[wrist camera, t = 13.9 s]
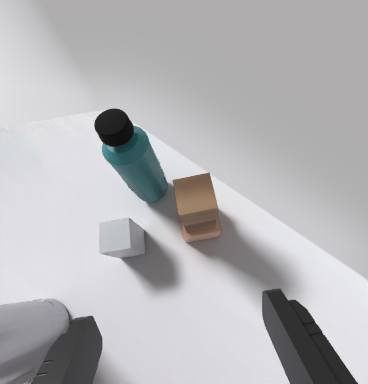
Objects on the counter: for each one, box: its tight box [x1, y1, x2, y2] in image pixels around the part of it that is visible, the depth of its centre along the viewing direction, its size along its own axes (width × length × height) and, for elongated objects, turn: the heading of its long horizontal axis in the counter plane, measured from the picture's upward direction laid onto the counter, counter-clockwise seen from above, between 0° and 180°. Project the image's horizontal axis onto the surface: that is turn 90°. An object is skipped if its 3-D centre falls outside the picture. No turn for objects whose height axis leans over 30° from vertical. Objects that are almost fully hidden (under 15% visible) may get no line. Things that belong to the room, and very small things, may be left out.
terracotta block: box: [181, 214, 221, 242], centre depth 35 cm, size 6×6×5 cm
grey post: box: [100, 218, 146, 258], centre depth 34 cm, size 4×4×8 cm
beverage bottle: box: [95, 109, 167, 202], centre depth 32 cm, size 6×7×20 cm
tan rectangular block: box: [173, 173, 218, 233], centre depth 28 cm, size 4×4×10 cm
